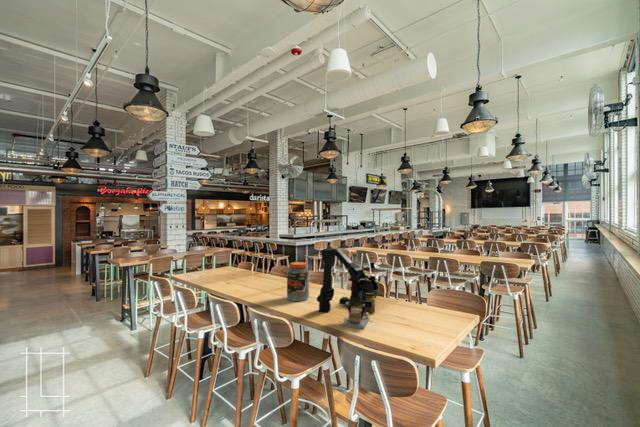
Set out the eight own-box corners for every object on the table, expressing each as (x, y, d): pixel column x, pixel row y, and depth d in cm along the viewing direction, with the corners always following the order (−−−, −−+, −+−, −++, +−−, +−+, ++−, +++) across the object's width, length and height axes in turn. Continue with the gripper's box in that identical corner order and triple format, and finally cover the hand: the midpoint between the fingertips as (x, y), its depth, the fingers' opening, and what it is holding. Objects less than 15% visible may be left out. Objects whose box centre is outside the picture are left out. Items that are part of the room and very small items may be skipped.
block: (359, 322, 162) (359, 314, 162) (349, 321, 164) (349, 313, 164) (363, 316, 171) (363, 309, 172) (353, 315, 173) (353, 307, 173)
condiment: (377, 313, 185) (377, 293, 185) (367, 315, 180) (367, 295, 180) (369, 309, 191) (369, 291, 191) (359, 312, 186) (359, 293, 186)
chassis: (363, 329, 158) (363, 321, 158) (342, 326, 162) (342, 318, 162) (369, 319, 173) (369, 312, 173) (349, 316, 177) (349, 310, 177)
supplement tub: (284, 301, 208) (284, 264, 208) (290, 295, 224) (290, 261, 224) (306, 302, 206) (306, 265, 206) (310, 296, 221) (310, 261, 221)
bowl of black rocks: (351, 297, 219) (351, 272, 219) (378, 298, 216) (378, 272, 216) (349, 305, 199) (350, 277, 199) (380, 307, 196) (380, 278, 196)
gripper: (336, 291, 164) (336, 319, 164) (370, 294, 157) (370, 324, 157) (342, 286, 174) (342, 313, 174) (373, 289, 167) (373, 317, 167)
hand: (356, 317), depth 168 cm, fingers closed on block, 6 cm apart
